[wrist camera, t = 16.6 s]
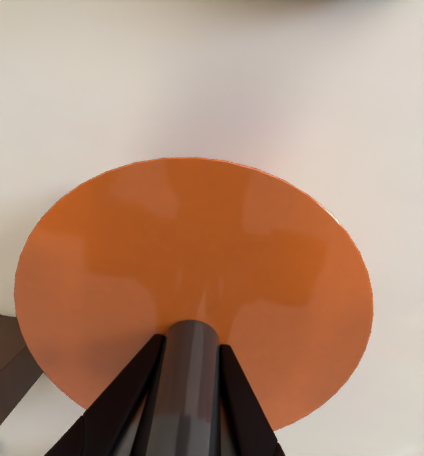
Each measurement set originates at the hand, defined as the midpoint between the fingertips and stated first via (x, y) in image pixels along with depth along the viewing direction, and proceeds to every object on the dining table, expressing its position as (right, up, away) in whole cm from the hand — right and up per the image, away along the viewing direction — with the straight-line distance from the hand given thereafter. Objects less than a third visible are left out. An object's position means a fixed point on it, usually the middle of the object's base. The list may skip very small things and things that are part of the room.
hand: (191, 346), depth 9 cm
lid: (0, 0, +1) cm, 1 cm away
